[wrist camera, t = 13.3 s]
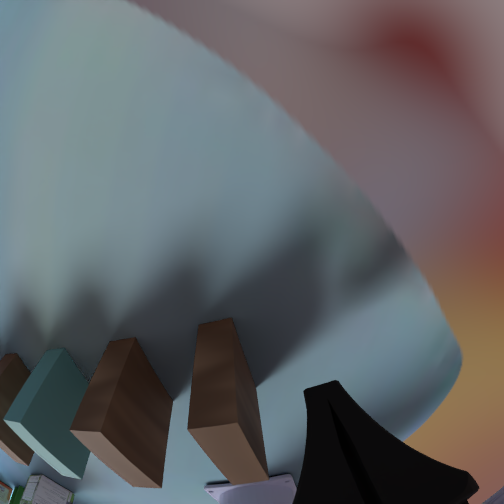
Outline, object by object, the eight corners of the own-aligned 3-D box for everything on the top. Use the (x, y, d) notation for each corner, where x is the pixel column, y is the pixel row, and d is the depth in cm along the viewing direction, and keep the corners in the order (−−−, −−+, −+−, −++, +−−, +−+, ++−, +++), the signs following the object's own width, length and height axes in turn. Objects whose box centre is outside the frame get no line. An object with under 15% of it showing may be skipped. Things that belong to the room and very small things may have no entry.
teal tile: (88, 406, 15) (62, 475, 9) (47, 349, 13) (3, 419, 7) (105, 406, 15) (82, 479, 9) (64, 347, 13) (19, 422, 7)
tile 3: (17, 353, 13) (-25, 412, 7) (55, 405, 15) (28, 466, 9) (5, 354, 13) (-35, 409, 7) (42, 404, 15) (15, 461, 9)
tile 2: (135, 337, 13) (100, 431, 7) (172, 401, 15) (161, 488, 9) (109, 341, 13) (69, 429, 7) (149, 403, 15) (132, 486, 9)
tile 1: (231, 317, 13) (237, 422, 7) (255, 387, 15) (269, 479, 9) (198, 324, 13) (187, 429, 7) (228, 393, 15) (232, 485, 9)
